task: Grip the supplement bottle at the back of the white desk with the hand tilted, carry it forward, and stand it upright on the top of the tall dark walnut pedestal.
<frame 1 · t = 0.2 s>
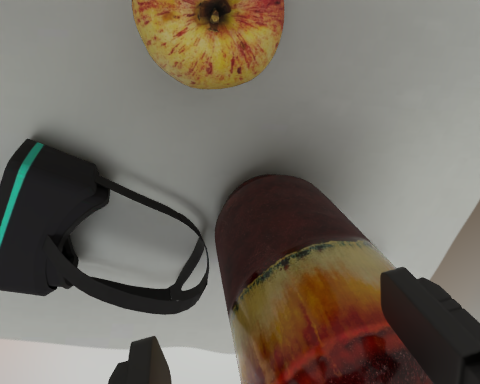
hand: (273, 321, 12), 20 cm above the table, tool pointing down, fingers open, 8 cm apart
apple: (203, 20, 26), on the table
vase: (266, 215, 34), on the table
virtual reality headset: (115, 225, 32), on the table
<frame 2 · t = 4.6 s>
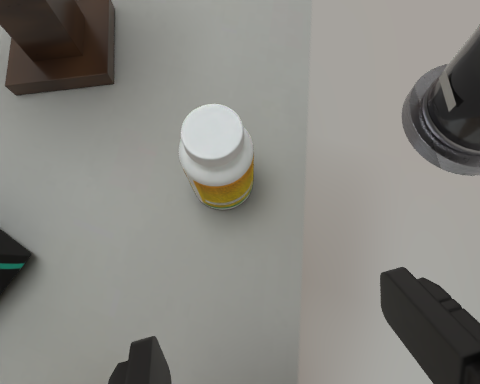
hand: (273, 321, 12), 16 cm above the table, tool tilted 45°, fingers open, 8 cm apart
supplement bottle: (223, 183, 31), on the table
pedestal column: (67, 49, 36), on the table
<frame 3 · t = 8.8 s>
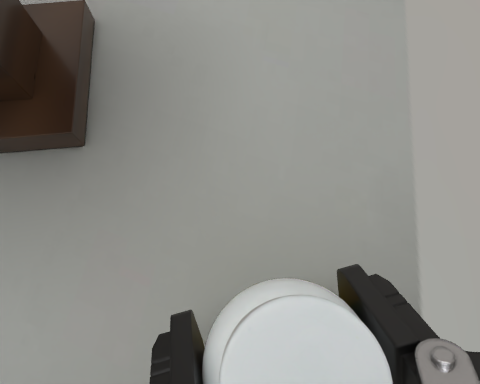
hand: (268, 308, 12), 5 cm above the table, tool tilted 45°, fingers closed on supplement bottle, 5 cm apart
supplement bottle: (272, 347, 17), on the table, touching gripper
pedestal column: (13, 84, 22), on the table
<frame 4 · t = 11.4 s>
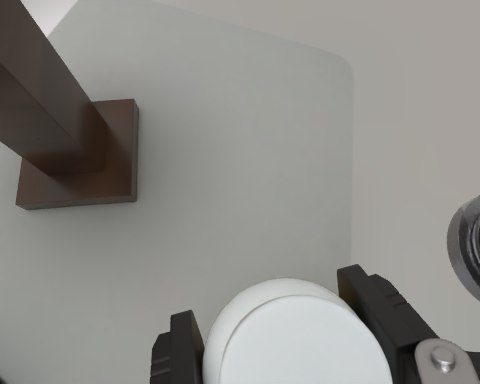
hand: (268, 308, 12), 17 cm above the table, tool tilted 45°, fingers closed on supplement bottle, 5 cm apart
supplement bottle: (272, 347, 17), point 11 cm above the table, touching gripper
pedestal column: (85, 156, 33), on the table
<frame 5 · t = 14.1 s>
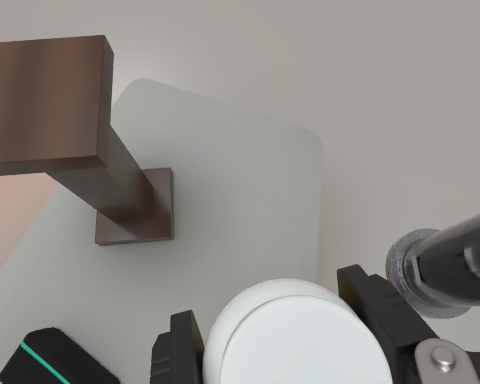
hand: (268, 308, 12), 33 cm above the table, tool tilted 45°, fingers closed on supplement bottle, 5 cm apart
supplement bottle: (272, 347, 17), point 27 cm above the table, touching gripper
pedestal top: (28, 95, 24), resting on pedestal column
pedestal column: (137, 207, 48), on the table
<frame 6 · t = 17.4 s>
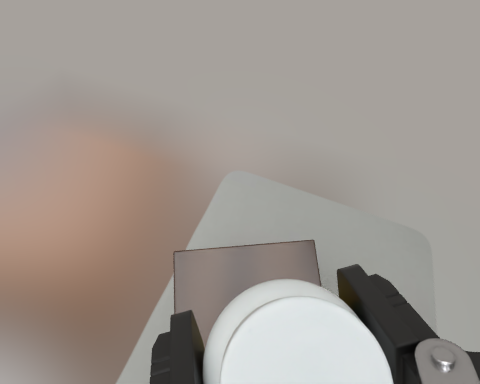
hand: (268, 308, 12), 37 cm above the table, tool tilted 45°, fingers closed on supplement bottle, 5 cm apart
supplement bottle: (272, 348, 17), point 32 cm above the table, touching gripper
pedestal top: (250, 320, 23), resting on pedestal column
when the fingers open (31 cm above the table, at t = 19.7 s): supplement bottle stays where it is, resting on pedestal top.
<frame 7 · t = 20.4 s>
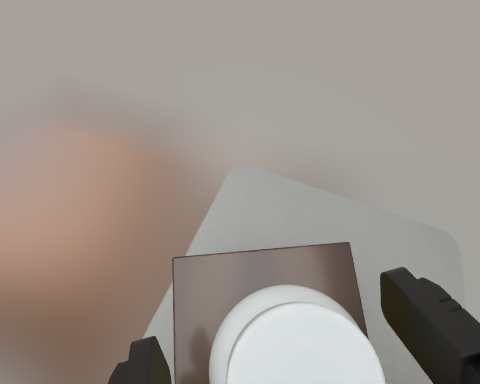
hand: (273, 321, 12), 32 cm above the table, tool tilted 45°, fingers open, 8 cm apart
supplement bottle: (274, 349, 18), point 26 cm above the table, touching pedestal top
pedestal top: (271, 346, 18), resting on pedestal column
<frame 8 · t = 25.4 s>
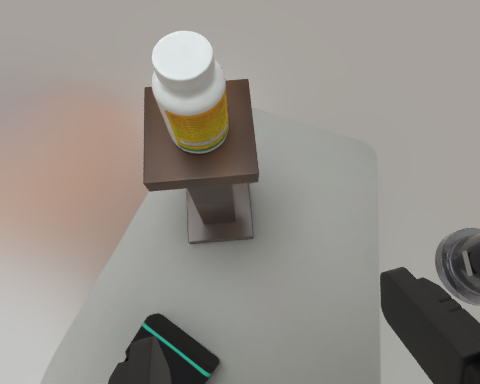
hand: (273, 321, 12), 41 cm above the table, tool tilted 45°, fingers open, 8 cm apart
supplement bottle: (200, 130, 31), point 26 cm above the table, touching pedestal top
pedestal top: (198, 128, 31), resting on pedestal column
pedestal column: (219, 210, 56), on the table
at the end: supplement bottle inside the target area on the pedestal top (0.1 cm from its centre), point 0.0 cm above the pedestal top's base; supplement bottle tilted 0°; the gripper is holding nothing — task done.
